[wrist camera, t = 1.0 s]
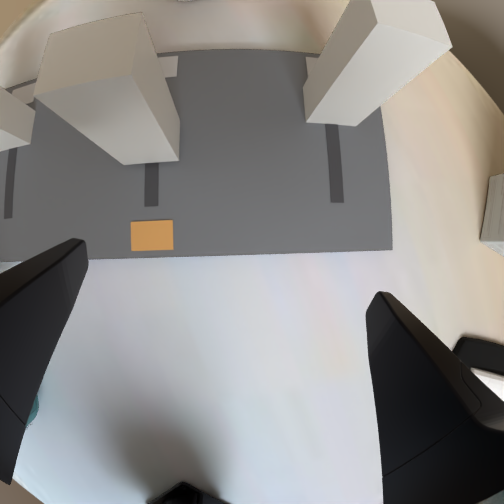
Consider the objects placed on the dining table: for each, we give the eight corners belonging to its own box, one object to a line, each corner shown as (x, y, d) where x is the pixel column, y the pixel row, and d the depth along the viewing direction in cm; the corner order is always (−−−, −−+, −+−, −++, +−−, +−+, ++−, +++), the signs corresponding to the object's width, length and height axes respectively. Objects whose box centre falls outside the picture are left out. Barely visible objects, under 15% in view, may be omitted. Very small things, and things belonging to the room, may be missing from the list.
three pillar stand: (386, 249, 23) (518, 257, 10) (-17, 261, 20) (-127, 273, 7) (367, 67, 23) (448, -23, 9) (-2, 97, 20) (-84, 43, 7)
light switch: (544, 361, 25) (503, 459, 23) (530, 358, 27) (490, 451, 26) (469, 329, 23) (408, 464, 22) (450, 325, 26) (394, 451, 24)
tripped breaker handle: (179, 161, 20) (131, 74, 8) (123, 165, 20) (33, 95, 8) (180, 120, 20) (142, 11, 8) (126, 125, 20) (50, 34, 8)
